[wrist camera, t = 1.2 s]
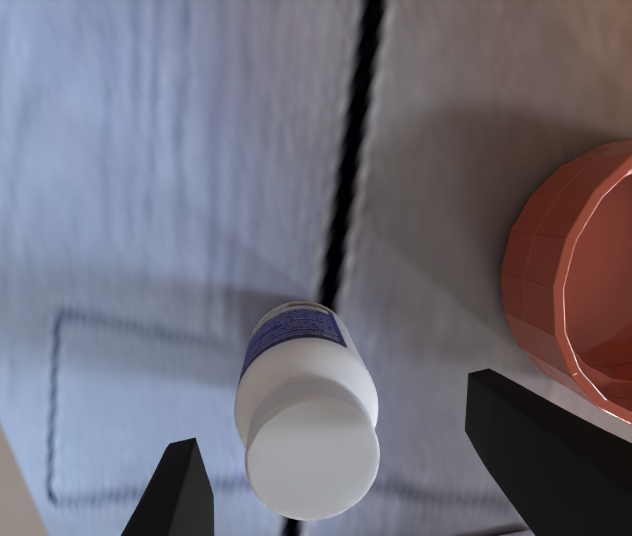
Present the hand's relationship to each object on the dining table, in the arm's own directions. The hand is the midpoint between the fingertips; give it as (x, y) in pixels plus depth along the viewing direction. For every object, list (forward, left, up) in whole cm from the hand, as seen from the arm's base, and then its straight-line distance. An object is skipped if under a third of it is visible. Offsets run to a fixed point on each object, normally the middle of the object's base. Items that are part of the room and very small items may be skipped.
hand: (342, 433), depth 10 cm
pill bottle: (-1, +1, -10) cm, 10 cm away
